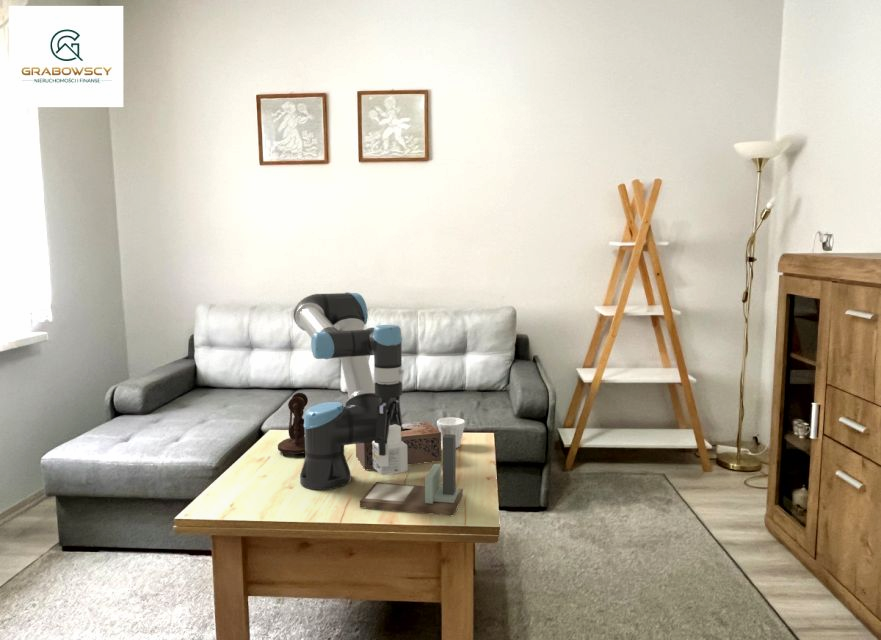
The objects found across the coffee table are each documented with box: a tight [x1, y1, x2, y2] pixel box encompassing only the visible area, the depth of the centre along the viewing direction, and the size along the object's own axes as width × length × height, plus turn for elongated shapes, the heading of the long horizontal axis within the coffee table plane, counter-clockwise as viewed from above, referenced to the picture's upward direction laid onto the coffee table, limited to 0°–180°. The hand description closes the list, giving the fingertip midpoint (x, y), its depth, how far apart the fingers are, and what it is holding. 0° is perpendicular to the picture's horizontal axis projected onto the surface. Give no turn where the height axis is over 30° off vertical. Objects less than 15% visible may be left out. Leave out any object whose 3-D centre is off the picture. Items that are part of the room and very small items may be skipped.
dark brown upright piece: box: [277, 392, 309, 457], centre depth 220 cm, size 15×15×20 cm
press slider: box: [424, 434, 460, 504], centre depth 174 cm, size 8×11×17 cm
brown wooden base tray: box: [359, 481, 464, 516], centre depth 177 cm, size 26×14×2 cm, turn 78°
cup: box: [436, 417, 466, 449], centre depth 225 cm, size 10×10×9 cm
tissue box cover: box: [355, 420, 442, 471], centre depth 212 cm, size 26×14×10 cm, turn 109°
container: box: [372, 422, 409, 476], centre depth 176 cm, size 8×8×13 cm
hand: (389, 459), depth 177 cm, fingers closed on container, 10 cm apart
